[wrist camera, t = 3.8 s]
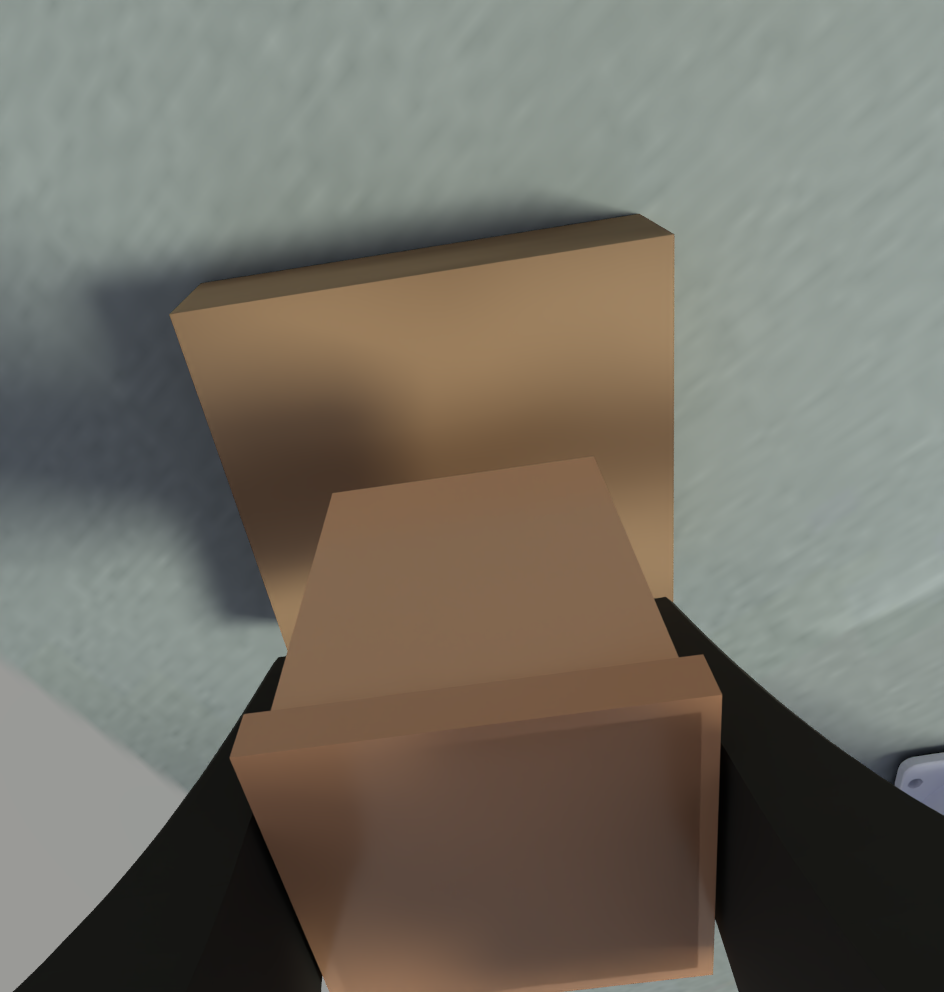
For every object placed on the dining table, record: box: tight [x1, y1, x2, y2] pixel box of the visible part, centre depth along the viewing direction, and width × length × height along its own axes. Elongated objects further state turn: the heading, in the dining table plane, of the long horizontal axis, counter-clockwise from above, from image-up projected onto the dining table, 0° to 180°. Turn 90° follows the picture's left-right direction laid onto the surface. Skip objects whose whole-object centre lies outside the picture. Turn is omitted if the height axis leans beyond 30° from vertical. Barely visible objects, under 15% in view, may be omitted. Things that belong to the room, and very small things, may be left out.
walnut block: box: [169, 214, 674, 650], centre depth 18 cm, size 10×10×2 cm
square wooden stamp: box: [230, 456, 722, 992], centre depth 11 cm, size 5×5×6 cm
